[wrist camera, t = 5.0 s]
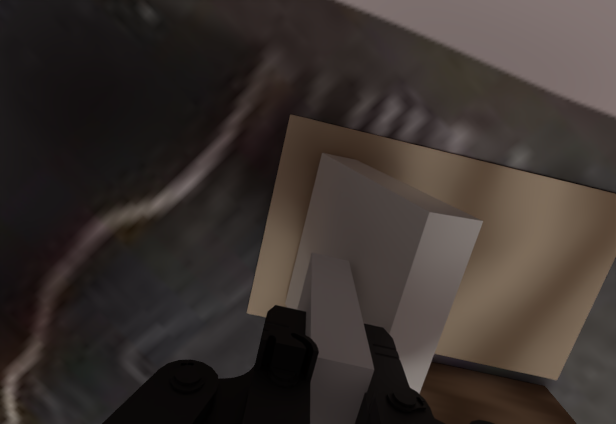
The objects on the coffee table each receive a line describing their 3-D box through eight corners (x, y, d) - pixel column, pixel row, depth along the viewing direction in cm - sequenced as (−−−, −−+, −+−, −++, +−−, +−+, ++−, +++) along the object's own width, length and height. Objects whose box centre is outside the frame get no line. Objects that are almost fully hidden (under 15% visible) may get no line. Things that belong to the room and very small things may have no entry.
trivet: (248, 308, 24) (246, 313, 23) (290, 114, 21) (290, 114, 20) (551, 373, 25) (557, 380, 24) (633, 198, 22) (642, 200, 21)
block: (285, 303, 23) (349, 454, 14) (322, 152, 20) (429, 212, 11) (319, 305, 23) (402, 450, 14) (358, 160, 21) (486, 221, 12)
